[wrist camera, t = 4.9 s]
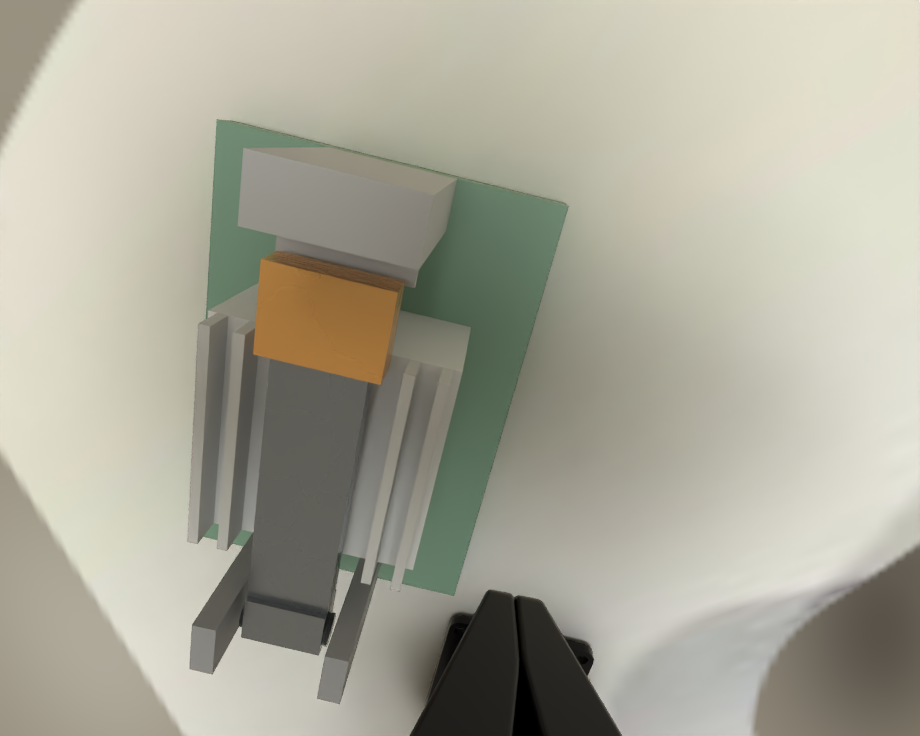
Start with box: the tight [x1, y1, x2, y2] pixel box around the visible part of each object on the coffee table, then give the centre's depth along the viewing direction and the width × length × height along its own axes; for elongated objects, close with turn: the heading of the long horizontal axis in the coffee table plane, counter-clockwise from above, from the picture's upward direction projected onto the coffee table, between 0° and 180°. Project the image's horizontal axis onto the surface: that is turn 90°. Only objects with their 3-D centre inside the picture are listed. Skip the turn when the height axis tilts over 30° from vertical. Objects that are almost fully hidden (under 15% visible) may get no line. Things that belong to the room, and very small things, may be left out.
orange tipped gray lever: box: [239, 251, 405, 655], centre depth 16 cm, size 12×3×1 cm, turn 167°
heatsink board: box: [188, 120, 569, 704], centre depth 17 cm, size 16×11×7 cm
